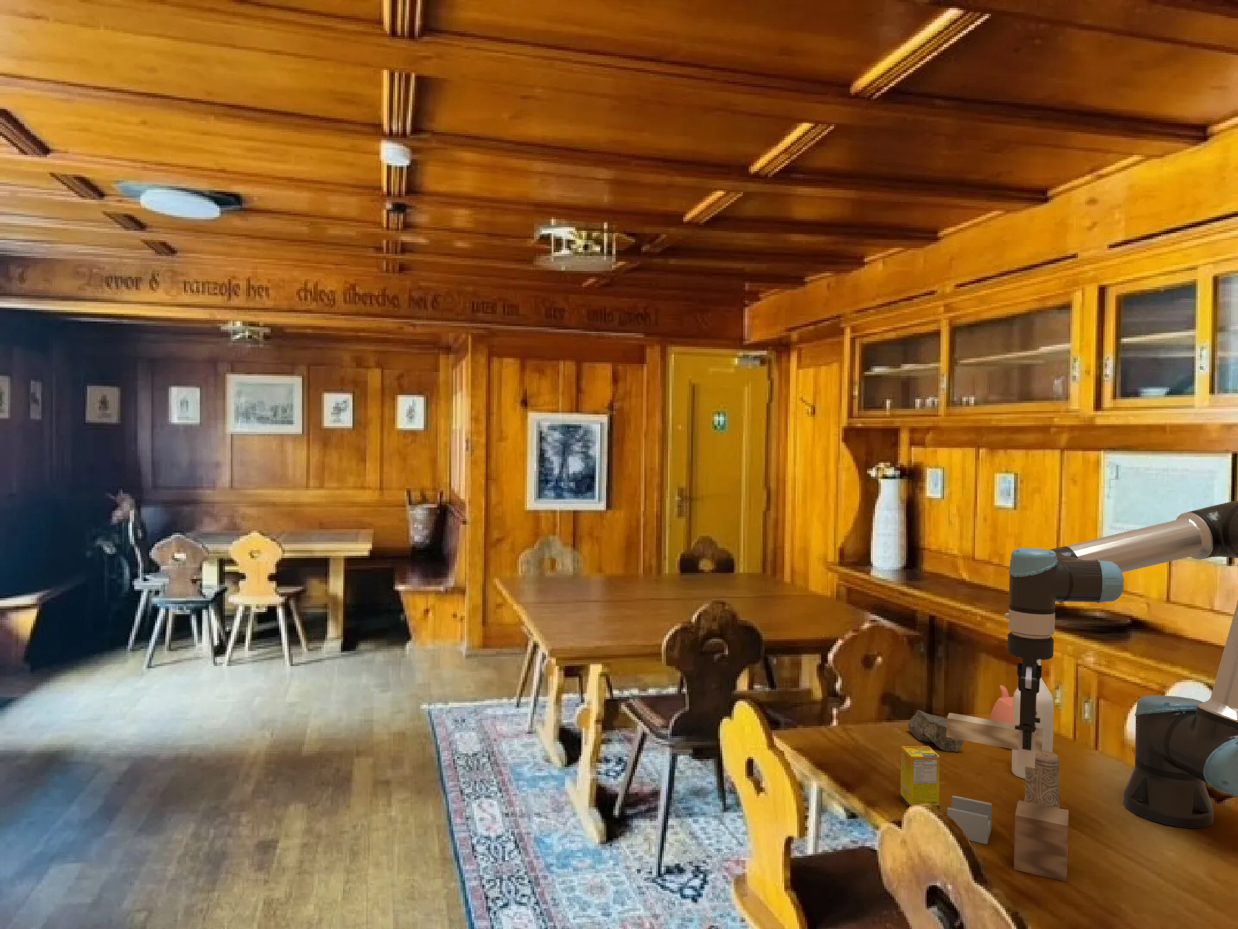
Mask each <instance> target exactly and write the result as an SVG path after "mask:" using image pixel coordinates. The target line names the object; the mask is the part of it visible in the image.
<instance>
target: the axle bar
mask: <svg viewBox="0 0 1238 929" xmlns="http://www.w3.org/2000/svg"><path fill="white" fill-rule="evenodd" d="M946 719H947V731H946V737H949V738H954V739H960V740H965V741H964V742H971V743H976V744H977V743H978V744H983V745H988V746H993V747H994V746H995V747H999V748H1004V749H1009V750H1012V749H1014V750H1018V744H1019V730H1016V729H1015V726H1019V725H1018V724H1012V723H1006V722H1001V721H995V720H990V718H989V719H988V718H982V717H976V716H970V715H965V714H959V713H953V712H949V713H948V714H947V716H946ZM1042 741H1043V729H1042V728H1036V741H1035V753H1036V754H1041V755H1042Z"/></svg>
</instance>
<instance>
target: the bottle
mask: <svg viewBox="0 0 1238 929" xmlns="http://www.w3.org/2000/svg"><path fill="white" fill-rule="evenodd" d="M1037 663H1038V665H1040V666H1042V660H1041V659H1039V660H1037ZM1050 691H1051V690H1049V688H1048V687H1047V685H1046V683H1045V681H1044V680H1043V678H1042V677H1041V678H1040V687H1039V693H1037V696H1036V712H1037V715H1036V718H1040V723H1035V724H1036V728H1042V729H1043V741H1042V750H1044V751H1048V752H1052V753H1053V750H1054V749H1053V746H1054V745H1053V744H1054V743H1053V742H1054V738H1053V731H1054V697H1053V695H1052V693H1051V692H1050ZM1020 693H1021V691H1019V690H1018V687H1017V688H1016V689H1015V690H1014V692H1013V696H1012V697H1013V724H1018V725H1019V724H1020ZM1011 773H1012V774H1013V775H1014V776H1016V777H1018V778H1020V779H1023V780H1025V766H1019V765H1018V750H1014V749H1011Z"/></svg>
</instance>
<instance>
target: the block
mask: <svg viewBox="0 0 1238 929" xmlns="http://www.w3.org/2000/svg"><path fill="white" fill-rule="evenodd" d="M1069 812H1070V810H1068V809H1064V808H1060V807H1059V808H1055V807H1050V806H1045V805H1040V804H1035V803H1030V802H1025V800H1024V801H1023V800H1019V799H1018V800H1017V804H1016V809H1015V815H1014V846H1013V847H1014V848H1013V849H1014V850H1013V851H1014V853H1013V870H1016V871H1020V872H1023V873H1028V874H1031V875H1036V876H1041V877H1045V878H1049V879H1052V880H1053V879H1054V880H1058V881H1061V882H1067V878H1068V877H1067V875H1068V855H1069V853H1068V852H1069V850H1068V849H1069V820H1070V819H1069V815H1070V814H1069Z"/></svg>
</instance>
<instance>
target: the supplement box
mask: <svg viewBox="0 0 1238 929" xmlns="http://www.w3.org/2000/svg"><path fill="white" fill-rule="evenodd" d="M900 747H901V749H900V752H901V753H900V799H901V798H902V799H903V800H904V801H905V802H906V803H907V804H908V806H911V805H914V804H915V803H931V804H933V805H935V806H937V807H938V808H939V809H940V767H941V766H940V763H941V761H940V759H941V756H940V755H939V754H938V753H937V752H935V750H933V748H932V747H930V746H929V745H921V746H919V745H917V746H915V745H907V746H905V745H901V746H900ZM902 799H901V800H902ZM903 800H902V801H903ZM904 801H903V802H904ZM905 802H904V803H905ZM906 803H905V804H906ZM908 806H907V807H908Z"/></svg>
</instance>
